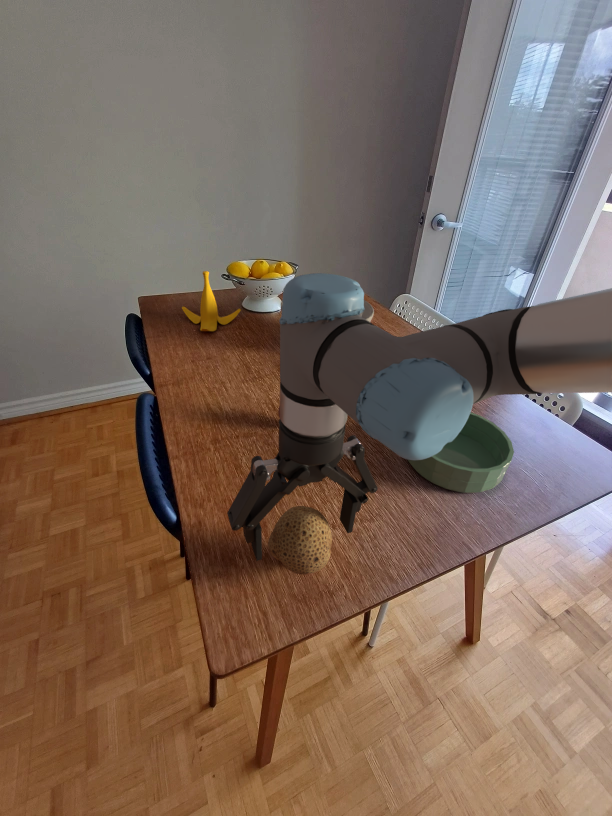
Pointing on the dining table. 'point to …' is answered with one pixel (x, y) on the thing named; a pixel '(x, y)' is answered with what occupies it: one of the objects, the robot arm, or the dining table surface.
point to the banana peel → (208, 309)
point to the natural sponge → (301, 540)
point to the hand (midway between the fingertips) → (302, 538)
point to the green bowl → (470, 458)
